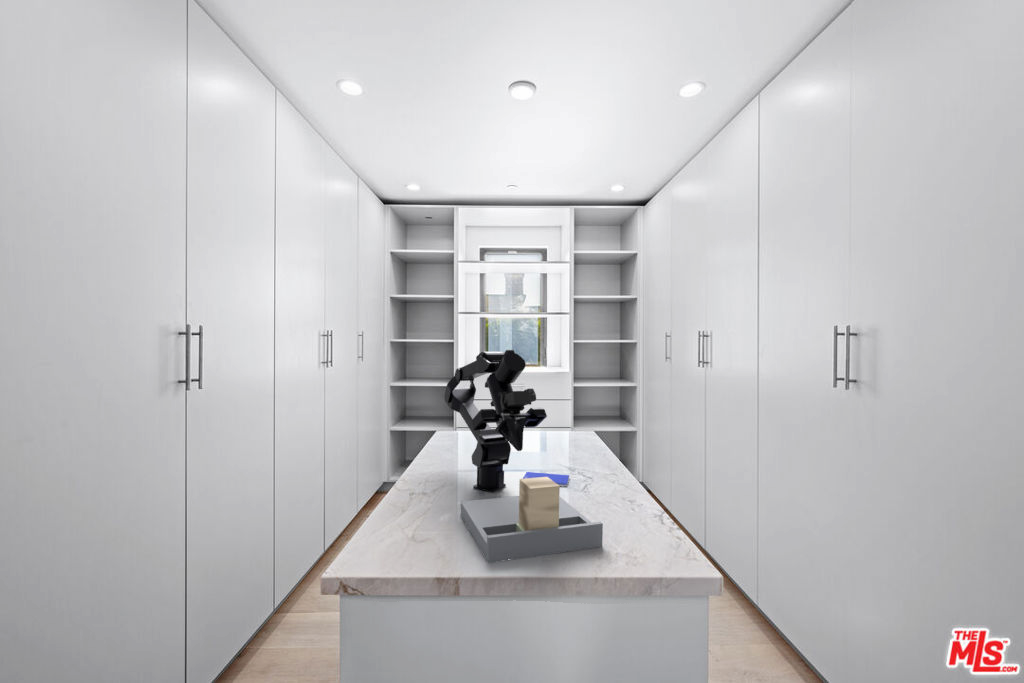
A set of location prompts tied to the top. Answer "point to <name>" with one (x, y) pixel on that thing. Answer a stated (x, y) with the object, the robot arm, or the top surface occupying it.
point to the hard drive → (557, 478)
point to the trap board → (508, 540)
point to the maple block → (538, 503)
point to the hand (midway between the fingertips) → (520, 450)
